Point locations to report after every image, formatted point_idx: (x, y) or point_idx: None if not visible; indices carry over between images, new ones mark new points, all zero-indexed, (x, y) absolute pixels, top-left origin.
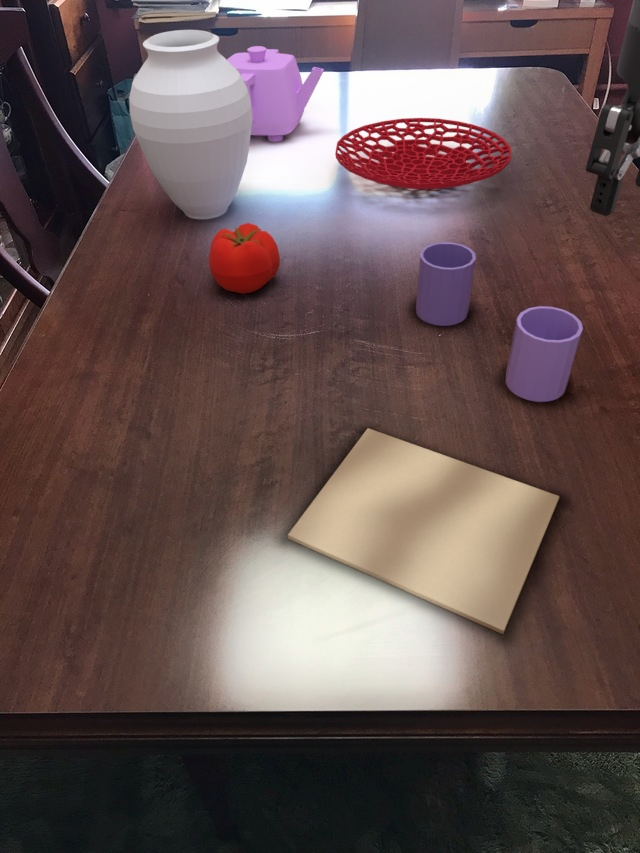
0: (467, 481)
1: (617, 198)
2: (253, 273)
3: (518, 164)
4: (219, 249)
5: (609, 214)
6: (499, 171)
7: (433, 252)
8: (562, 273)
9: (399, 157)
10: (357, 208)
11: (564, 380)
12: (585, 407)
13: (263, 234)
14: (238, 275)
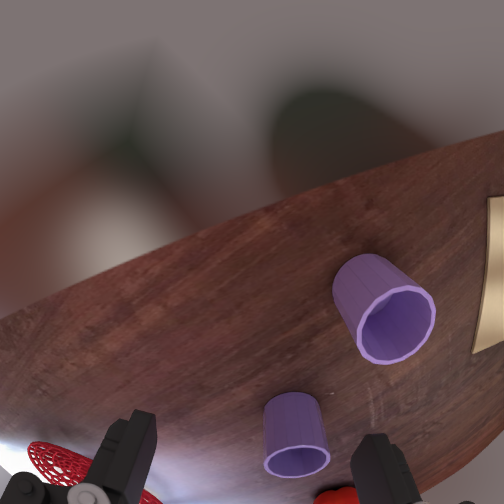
0: (499, 266)
1: (382, 462)
2: (354, 498)
3: (22, 420)
4: None
5: (385, 434)
6: (63, 448)
7: (282, 468)
8: (129, 350)
9: None
10: (181, 495)
11: (384, 261)
12: (376, 223)
13: None
14: None
